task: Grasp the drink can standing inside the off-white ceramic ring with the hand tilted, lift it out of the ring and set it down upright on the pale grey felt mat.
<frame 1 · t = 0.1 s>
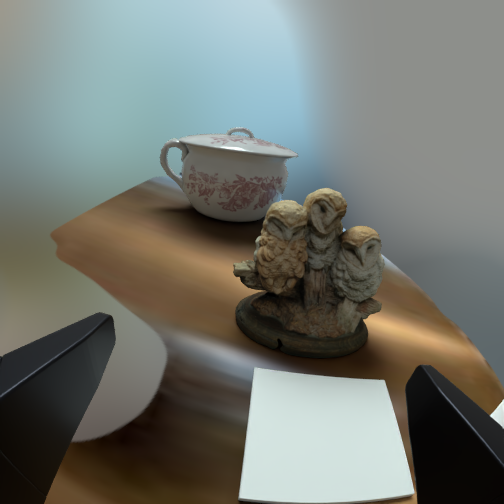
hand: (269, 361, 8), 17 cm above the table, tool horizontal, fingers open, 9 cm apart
mat: (327, 435, 22), on the table
owl figurine: (298, 327, 37), on the table
chamber pot: (228, 213, 74), on the table
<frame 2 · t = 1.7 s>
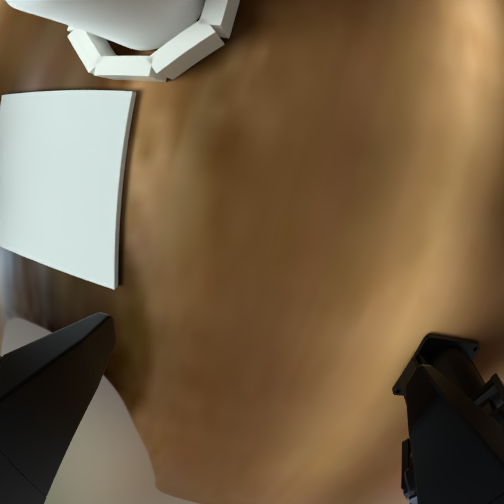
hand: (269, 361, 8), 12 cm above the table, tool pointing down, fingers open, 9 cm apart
mat: (49, 181, 19), on the table
can: (159, 10, 14), resting in ring
ring: (158, 9, 14), on the table
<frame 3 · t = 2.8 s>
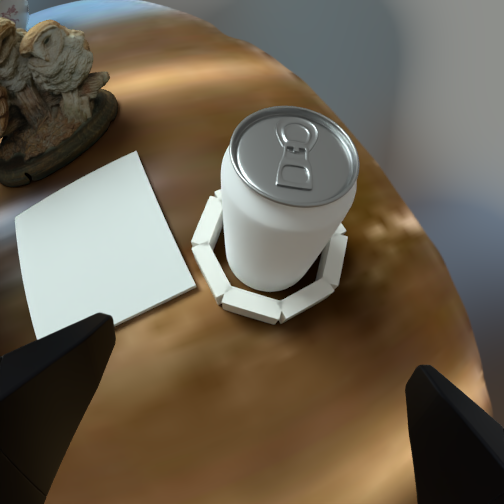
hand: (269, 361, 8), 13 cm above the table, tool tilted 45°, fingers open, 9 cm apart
mat: (88, 248, 23), on the table
can: (268, 253, 24), resting in ring
owl figurine: (50, 140, 27), on the table
ring: (268, 252, 23), on the table
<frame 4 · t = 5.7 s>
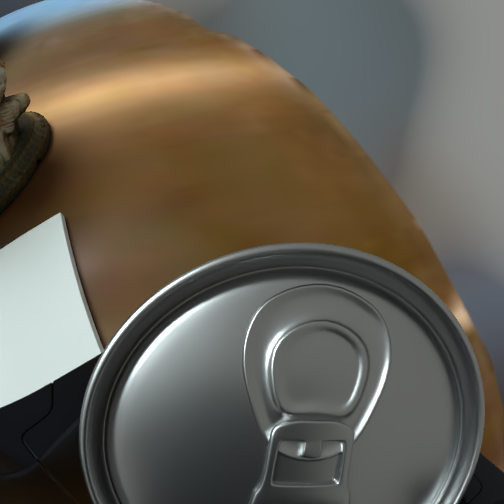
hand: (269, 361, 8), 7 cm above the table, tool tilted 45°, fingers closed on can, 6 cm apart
mat: (9, 358, 13), on the table
can: (250, 391, 14), resting in ring, touching gripper
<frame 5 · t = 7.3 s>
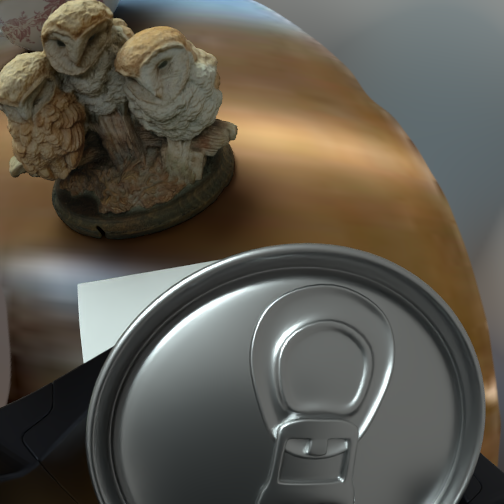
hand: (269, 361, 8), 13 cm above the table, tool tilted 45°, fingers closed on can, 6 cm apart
mat: (176, 366, 20), on the table
can: (249, 389, 14), point 6 cm above the table, touching gripper
owl figurine: (134, 179, 25), on the table
chamber pot: (72, 29, 37), on the table
when the fingers open (8 cm above the table, at t = 9.0 s): can stays where it is, resting on mat.
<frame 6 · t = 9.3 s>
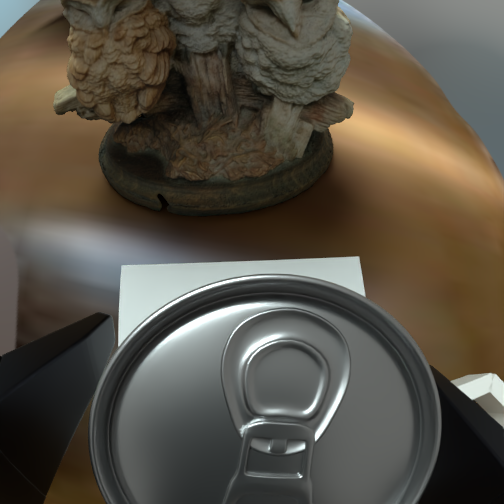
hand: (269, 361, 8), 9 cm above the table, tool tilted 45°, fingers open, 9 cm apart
mat: (248, 388, 15), on the table
can: (246, 393, 15), resting on mat
owl figurine: (208, 148, 21), on the table
ring: (449, 451, 14), on the table
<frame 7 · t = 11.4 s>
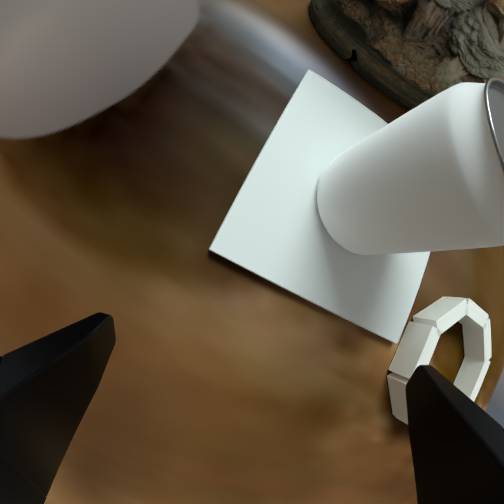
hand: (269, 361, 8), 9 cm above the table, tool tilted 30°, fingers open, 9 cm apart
mat: (356, 203, 19), on the table
can: (357, 204, 19), resting on mat
owl figurine: (384, 50, 21), on the table
ring: (436, 363, 20), on the table
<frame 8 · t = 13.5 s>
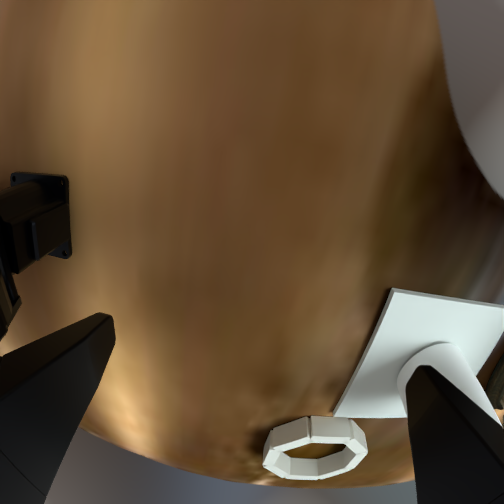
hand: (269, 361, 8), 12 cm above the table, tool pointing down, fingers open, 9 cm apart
mat: (427, 365, 23), on the table
can: (427, 366, 22), resting on mat
ring: (314, 442, 28), on the table
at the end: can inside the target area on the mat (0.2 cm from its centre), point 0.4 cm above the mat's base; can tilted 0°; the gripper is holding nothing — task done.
